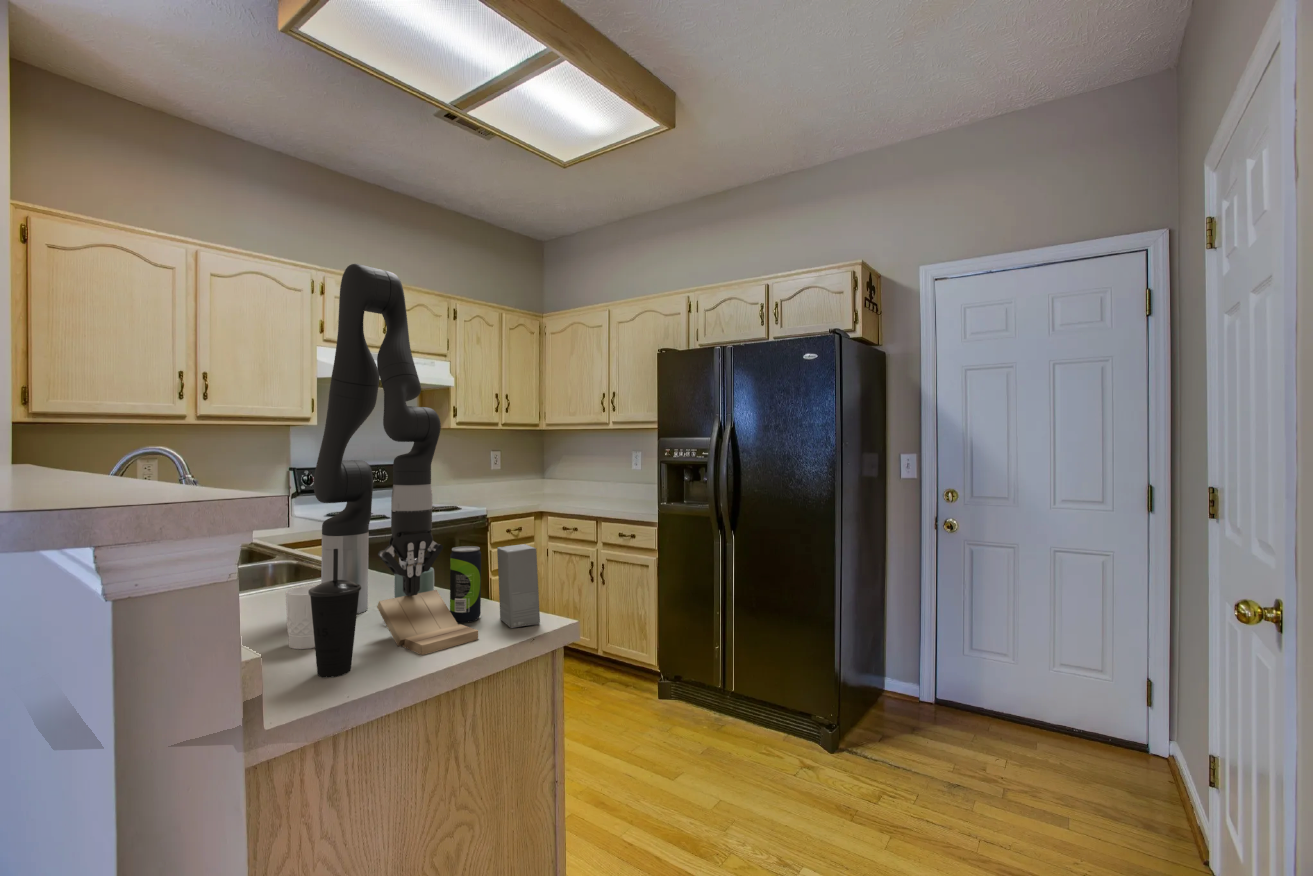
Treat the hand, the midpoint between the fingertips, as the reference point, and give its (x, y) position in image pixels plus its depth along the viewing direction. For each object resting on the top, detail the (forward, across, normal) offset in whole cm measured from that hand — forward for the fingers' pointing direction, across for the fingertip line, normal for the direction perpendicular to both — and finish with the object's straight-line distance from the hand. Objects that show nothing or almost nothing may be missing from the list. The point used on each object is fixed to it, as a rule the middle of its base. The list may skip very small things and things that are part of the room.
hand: (411, 594), depth 121 cm
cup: (+8, -6, -10) cm, 14 cm away
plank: (+4, 0, +2) cm, 5 cm away
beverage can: (+8, -12, 0) cm, 14 cm away
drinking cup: (+8, +19, +11) cm, 23 cm away
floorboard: (+7, 0, +11) cm, 13 cm away
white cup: (+8, +16, -8) cm, 19 cm away
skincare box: (+8, -18, +10) cm, 22 cm away
